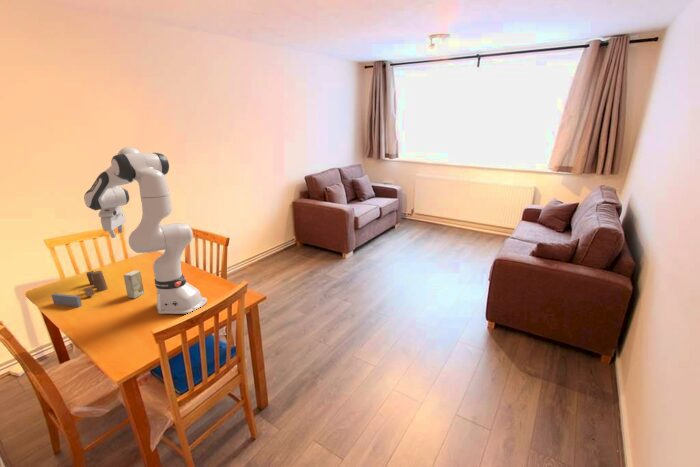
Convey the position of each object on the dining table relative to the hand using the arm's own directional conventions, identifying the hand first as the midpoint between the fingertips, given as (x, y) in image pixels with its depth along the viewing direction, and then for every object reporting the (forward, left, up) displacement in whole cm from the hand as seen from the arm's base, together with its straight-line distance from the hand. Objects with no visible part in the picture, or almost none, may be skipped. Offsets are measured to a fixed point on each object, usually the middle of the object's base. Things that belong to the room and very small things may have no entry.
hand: (117, 234), depth 182 cm
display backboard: (0, +34, -25) cm, 42 cm away
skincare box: (-24, +19, -25) cm, 39 cm away
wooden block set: (0, +18, -25) cm, 30 cm away
